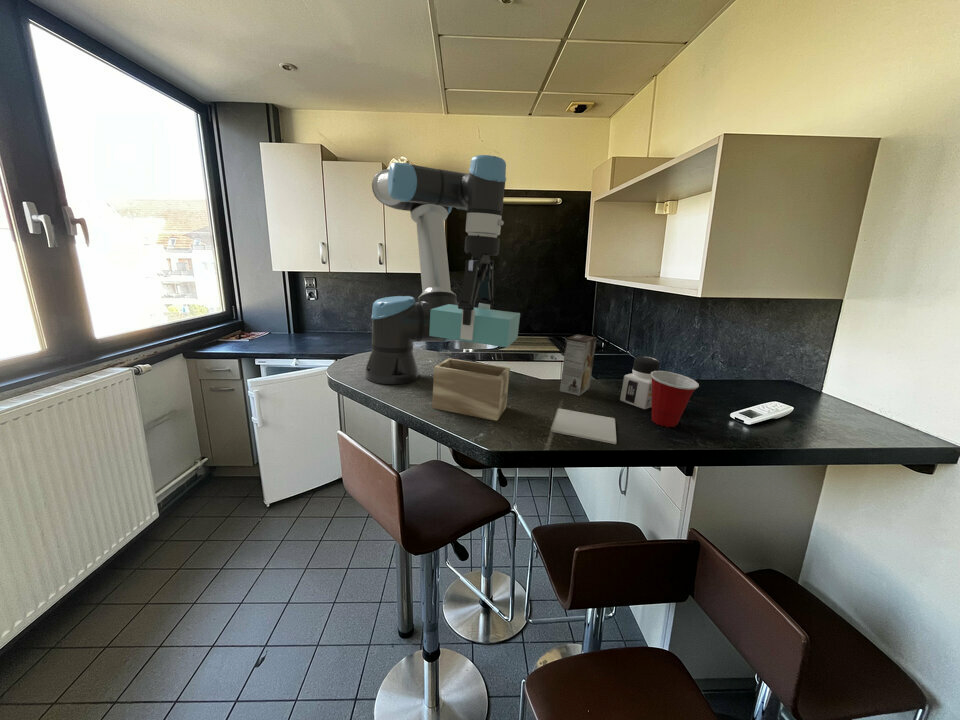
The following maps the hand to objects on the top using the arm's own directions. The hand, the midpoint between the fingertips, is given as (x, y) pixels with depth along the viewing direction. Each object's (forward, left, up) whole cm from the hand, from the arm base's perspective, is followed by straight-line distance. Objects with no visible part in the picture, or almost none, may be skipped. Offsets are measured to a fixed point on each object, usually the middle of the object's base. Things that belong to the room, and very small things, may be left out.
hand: (474, 334), depth 91 cm
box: (0, 0, -19) cm, 19 cm away
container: (-28, +41, -19) cm, 53 cm away
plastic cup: (-15, +46, -19) cm, 52 cm away
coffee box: (-30, +23, -19) cm, 42 cm away
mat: (-4, +23, -19) cm, 30 cm away
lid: (0, 0, -1) cm, 1 cm away
